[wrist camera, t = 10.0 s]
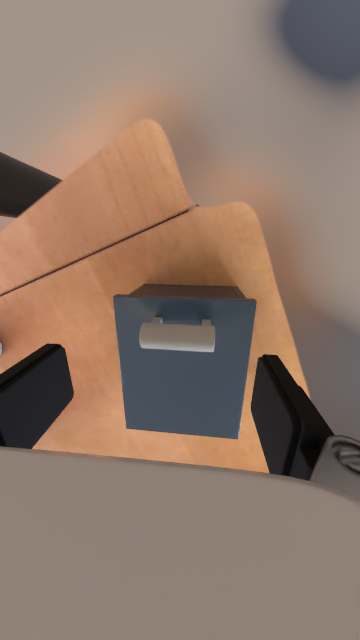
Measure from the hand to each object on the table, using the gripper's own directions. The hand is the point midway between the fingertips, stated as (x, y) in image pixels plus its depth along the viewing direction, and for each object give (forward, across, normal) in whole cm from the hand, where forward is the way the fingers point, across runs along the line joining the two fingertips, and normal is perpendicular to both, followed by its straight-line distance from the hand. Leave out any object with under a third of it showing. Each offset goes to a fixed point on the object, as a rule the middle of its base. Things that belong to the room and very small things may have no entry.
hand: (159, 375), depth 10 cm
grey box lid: (+9, 0, +5) cm, 10 cm away
